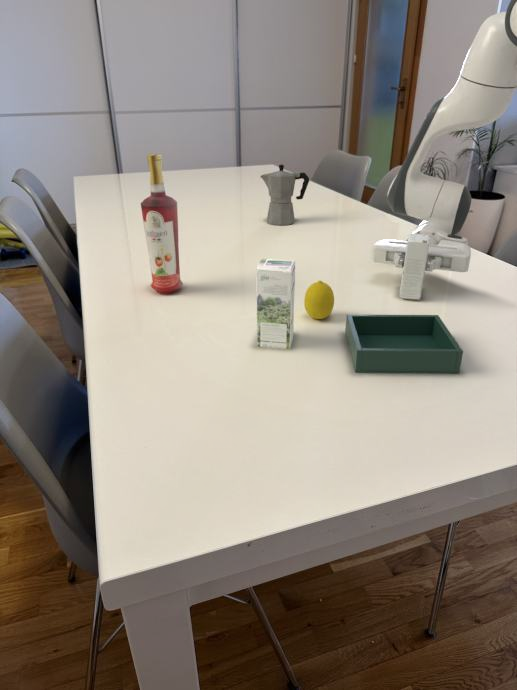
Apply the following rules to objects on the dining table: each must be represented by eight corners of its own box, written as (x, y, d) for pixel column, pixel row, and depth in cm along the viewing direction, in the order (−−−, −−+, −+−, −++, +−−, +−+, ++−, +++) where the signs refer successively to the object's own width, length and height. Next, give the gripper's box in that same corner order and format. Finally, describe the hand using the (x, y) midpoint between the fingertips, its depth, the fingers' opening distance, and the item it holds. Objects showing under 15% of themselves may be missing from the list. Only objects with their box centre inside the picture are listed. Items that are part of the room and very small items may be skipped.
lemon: (307, 328, 94) (309, 286, 91) (300, 316, 99) (301, 276, 95) (336, 325, 95) (339, 284, 91) (328, 314, 100) (330, 275, 96)
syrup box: (294, 337, 91) (295, 258, 84) (290, 353, 85) (291, 269, 79) (262, 335, 91) (261, 256, 85) (256, 350, 86) (255, 268, 80)
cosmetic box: (400, 288, 111) (406, 233, 105) (421, 290, 110) (429, 234, 104) (399, 298, 105) (405, 240, 100) (421, 300, 104) (429, 242, 99)
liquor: (188, 285, 115) (178, 153, 102) (177, 297, 109) (165, 157, 96) (157, 283, 116) (144, 152, 104) (145, 295, 110) (128, 157, 97)
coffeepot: (259, 225, 164) (259, 166, 156) (261, 219, 172) (260, 162, 164) (308, 225, 163) (310, 166, 155) (307, 219, 172) (309, 162, 163)
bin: (434, 338, 90) (438, 314, 88) (458, 377, 78) (463, 351, 76) (344, 337, 90) (346, 314, 88) (354, 376, 78) (357, 350, 76)
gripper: (380, 229, 118) (364, 245, 107) (475, 238, 110) (469, 256, 99) (377, 256, 120) (362, 274, 109) (470, 267, 113) (463, 287, 101)
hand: (413, 265), depth 104 cm, fingers closed on cosmetic box, 4 cm apart
